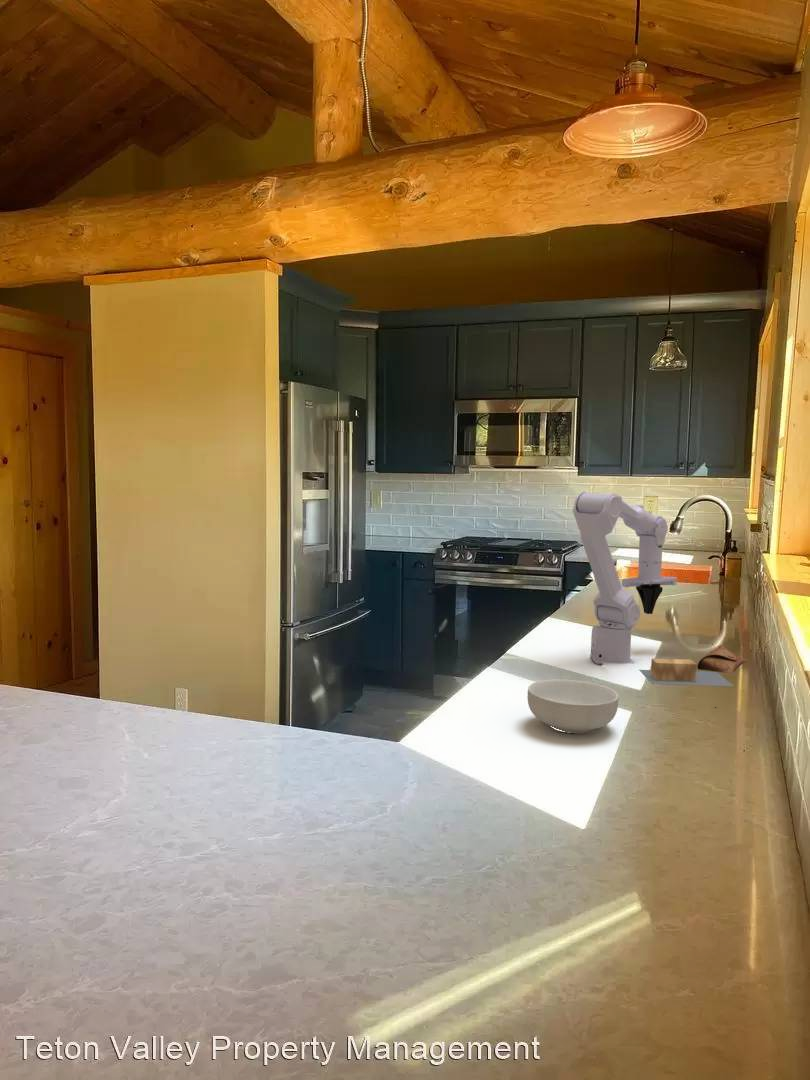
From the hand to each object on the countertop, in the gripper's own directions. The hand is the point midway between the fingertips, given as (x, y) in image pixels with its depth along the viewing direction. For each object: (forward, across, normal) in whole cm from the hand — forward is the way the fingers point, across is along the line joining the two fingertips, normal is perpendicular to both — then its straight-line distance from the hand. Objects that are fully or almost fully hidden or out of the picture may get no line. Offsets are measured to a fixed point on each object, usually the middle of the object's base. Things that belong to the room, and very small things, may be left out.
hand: (648, 613), depth 209 cm
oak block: (+7, -4, -28) cm, 29 cm away
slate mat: (+10, -5, -26) cm, 28 cm away
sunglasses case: (+11, +12, -16) cm, 23 cm away
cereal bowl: (+9, -44, -52) cm, 69 cm away
